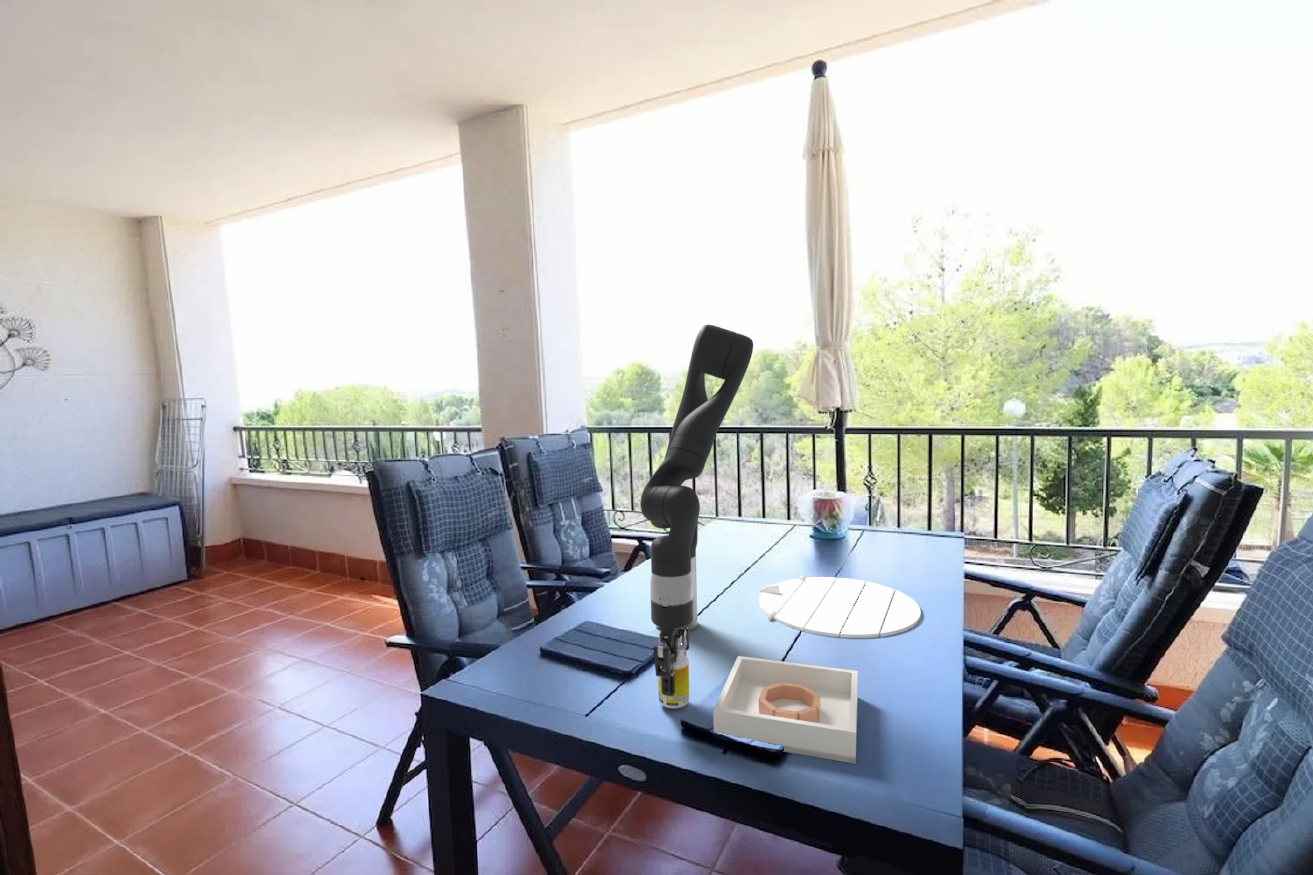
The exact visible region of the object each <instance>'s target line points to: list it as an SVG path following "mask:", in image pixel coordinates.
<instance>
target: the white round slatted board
mask: <svg viewBox="0 0 1313 875" xmlns="http://www.w3.org/2000/svg"><path fill="white" fill-rule="evenodd" d="M865 583H866V584H865ZM864 585H865V586H864ZM863 587H864V588H863ZM861 591H862V592H861ZM759 592H760V593H761V594H760V596H759V598H758V600H759V607H760V609H761V611H762V612H763V613H764V614H765V615H767V619H768V620H769V621H771V620H773V621H775V622H777V623H778V624H781V625H783V626H786V627H788V628H791V629H793V630H796V631H797V630H798V631H800V632H803V631H804V632H805V633H809V634H813V635H817V636H823V637H824V636H825V637H833V638H839V637H840V638H841V639H844V638H845V639H872V638H873V639H875V638H878V637H879V636H880V637H881V638H883V637H888V636H889V637H890V636H894V635H897V633H898V634H901V633H903V632H906V631H908V629H909V628H910V629H912V628H913V627H912V626H914V625H915V626H916V625H917V624H918V623H919V622H920V620H921V618H920V617H922V610H921V608H920V606H919V603H917V602H916V601H915V599H914V598H911V596H909V595H907V594H905V593H903V592H902V591H899V590H897V589H896V590H895V589H894V588H893V587H889V586H886V585H883V584H880V583H875V582H871V581H865V580H861V579H855V578H846V577H835V576H832V577H831V576H815V577H814V576H813V577H811V576H810V577H809V576H808V577H806V575H803V574H802V575H801V576H800V577H799V578H795V579H789V580H785V581H784V580H783V581H781V582H778V583H777V582H776V583H775V584H767V585H766V586H764V587H762V588H760V590H759ZM860 593H861V594H860ZM893 594H894V595H893ZM858 597H859V598H858ZM892 597H893V598H892ZM857 599H858V600H857ZM891 599H892V601H891ZM856 601H857V602H856ZM890 602H891V603H890ZM855 603H856V604H855ZM854 605H855V606H854ZM889 605H890V606H889ZM888 608H889V609H888ZM886 613H887V614H886ZM847 618H848V619H847ZM884 619H885V620H884ZM919 619H920V620H919ZM918 621H919V622H918ZM917 622H918V623H917ZM843 626H844V627H843ZM915 626H914V627H915ZM881 627H882V628H881ZM911 627H912V628H911ZM910 629H909V630H910ZM840 632H841V633H840ZM900 632H901V633H900ZM893 634H894V635H893Z"/></svg>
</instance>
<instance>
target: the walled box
mask: <svg viewBox="0 0 1313 875" xmlns="http://www.w3.org/2000/svg"><path fill="white" fill-rule="evenodd" d="M858 672H859V671H858V670H854V669H853V670H852V669H845V668H837V667H830V666H820V665H813V664H805V663H799V662H798V663H797V662H789V661H781V660H773V659H767V658H766V659H765V658H758V657H752V656H751V657H750V656H743V655H737V657H736V659H735V662H734V664H733V665H732V668H731V670H730V673H729V675H728V677H727V679H726V681H725V684H724V686H723V688H722V690H721V692H720V695H719V696H718V699H717V701H716V703H715V705H714V708H713V709H712V710H713V711H712V712H713V713H712V714H713V716H712V717H713V718H712V719H713V733H714V732H715V733H721V734H726V735H731V736H734V737H738V738H747V739H752V740H756V741H760V742H765V743H768V744H773V745H782V746H783V747H784V751H783V752H785V753H791V754H797V755H803V756H806V757H807V756H809V757H813V758H818V759H825V760H831V761H836V762H842V763H849V764H853V765H856V764H857V762H856V761H857V733H858V732H857V729H858V728H857V727H858V696H859V695H858V693H859V692H858V691H859V690H858V688H859V687H858V686H859V680H858V679H859V674H858Z"/></svg>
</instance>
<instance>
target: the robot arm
mask: <svg viewBox="0 0 1313 875" xmlns="http://www.w3.org/2000/svg"><path fill="white" fill-rule="evenodd" d="M753 351H754V342H753V339H752V338H750V337H749V336H747V335H744V334H742V333H738V332H735V331H732V330H729V329H726V328H724V327H723V328H722V327H719V326H717V325H713V324H706V325H705V324H704V325H703V326H702V327H701V328H700V329H699V331H698V333H697V335H696V337H695V341H694V343H693V348H692V352H691V356H690V359H689V360H690V361H689V365H688V371H687V374H686V375H687V376H686V379H685V380H686V381H685V385H684V390H683V393H682V397H681V400H680V404H679V406H678V410H677V412H676V416H675V419H674V422H673V425H672V429H671V432H670V436H669V439H668V440H669V441H668V444H667V448H666V452H665V456H664V460H663V461H662V462H661V464H660V465H659V466H658V467H657V469H656V470H655V471H654V473H653V474H652V475H651V477H650V479H649V480H648V482H647V483H646V484H645V486H644V489H643V491H642V493H641V497H640V510H641V513H642V515H643V517H644V518H645V519H646V520H647V521H649V522H650V523H651V525H652V526H653V527H655V528H656V529H660V530H661V529H662V530H664V529H670V530H669V533H668V534H666V535H661V536H658V537H656V538H654V539H653V540H652V542H651V545H650V547H651V548H650V560H651V561H650V565H651V574H650V584H649V585H650V618H651V622H652V623H653V625H655V628H657V629H660V632H659V634H658V644H659V645H658V644H654V645H653V648H652V649H653V659H654V661H653V662H654V671H655V676H656V677H658V676H661V679H662V694H663V695H667V696H673V695H674V693H675V675H674V674H675V663H676V662H678V660H679V650H680V646H681V645H682V646H683V647H684V655H686V656H687V651H689V649H690V631H693V630H695V629H696V628H697V627H698V592H697V589H698V588H697V582H698V581H697V546H698V538H699V537H698V536H699V535H698V533H699V532H698V530H699V527H698V526H699V517H700V509H701V506H700V505H701V503H700V499H699V496H698V495H697V493H696V491H695V490H694V488H692V487H689V486H686V485H683V483H685V482H686V481H688V480H693V479H697V478H699V477H700V476H701V474H702V473H703V471H704V468H705V465H706V463H707V460H708V458H709V456H710V454H711V451H712V449H713V448H712V447H713V446H714V442H715V439H716V436H717V433H718V431H719V429H720V427H721V424H722V423H723V421H724V418H725V416H726V415H727V413H728V411H729V409H730V408H731V405H732V403H733V401H734V399H735V397H736V395H737V393H738V390H739V389H740V386H741V383H742V381H743V379H744V378H745V375H746V373H747V370H748V367H749V365H750V362H751V358H752V355H753ZM705 375H708V376H712V377H715V378H718V379H720V380H724V381H723V383H722V384H721V386H720V388H719V389H718V390H717V392H715V394H714V395H712V396H711V397H710V398H708V394H707V390H706V382H705V380H706V379H705V378H706V376H705ZM670 654H674V657H670ZM670 662H671V663H670ZM664 667H666V668H664Z"/></svg>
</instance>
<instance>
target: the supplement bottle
mask: <svg viewBox="0 0 1313 875" xmlns="http://www.w3.org/2000/svg"><path fill="white" fill-rule="evenodd" d="M670 657H674V654H670ZM689 662H690V661H689V658H688V656H687V655H684V647H683V646H682V645H681V646H680V650H679V660H678V662H676V663H675V674H674V675H675V693H674V695H673V696H667V695H663V694H662V679H661V676H657V677H658V678H657V679H658V680H657V685H658V686H657V688H658V701H659V703H660V705H662V706H663V707H665V708H668V709H680V708H683V707H686V705H688V703H689V701H690V672H689V671H690V670H689ZM670 663H671V662H670ZM664 668H666V667H664Z"/></svg>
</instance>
